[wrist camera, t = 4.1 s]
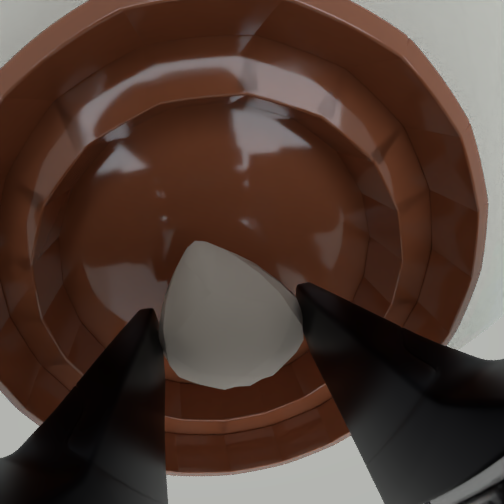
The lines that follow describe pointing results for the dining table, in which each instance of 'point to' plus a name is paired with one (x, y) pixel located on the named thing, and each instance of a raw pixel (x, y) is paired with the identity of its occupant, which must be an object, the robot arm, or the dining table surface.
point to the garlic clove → (227, 319)
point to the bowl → (226, 197)
